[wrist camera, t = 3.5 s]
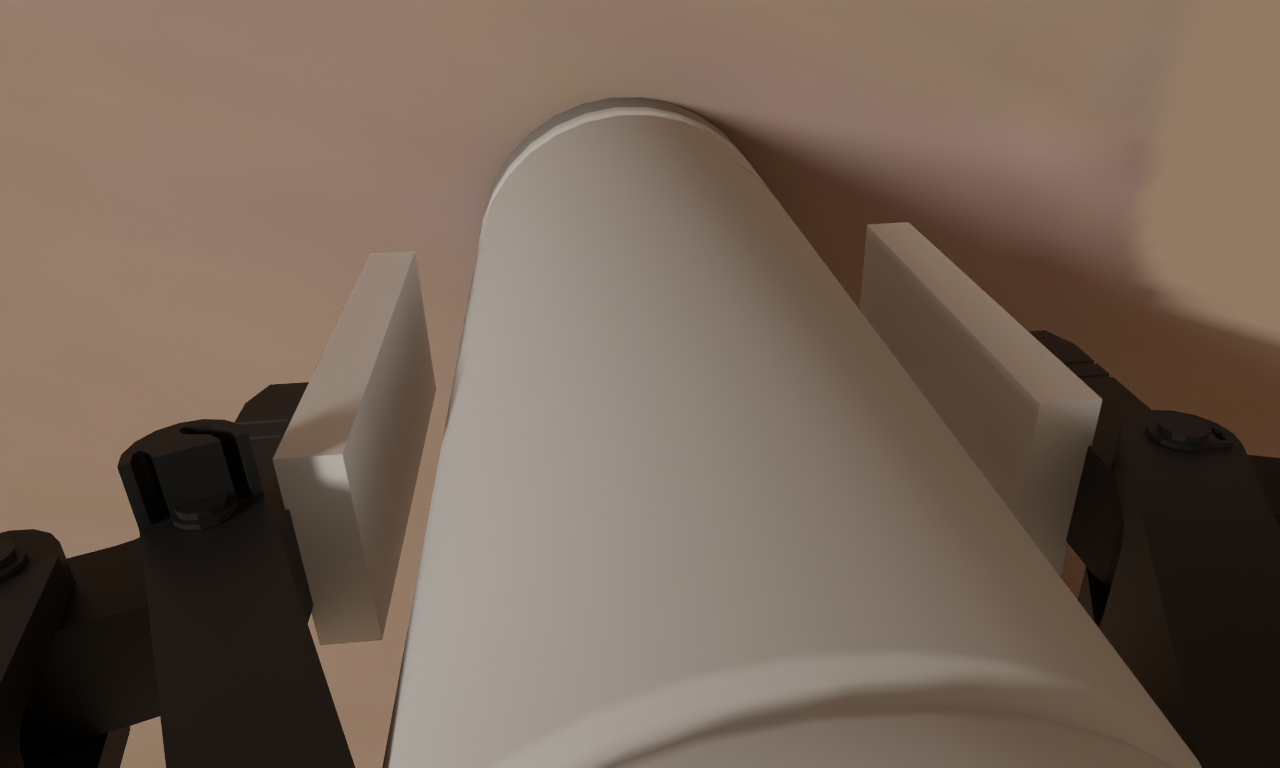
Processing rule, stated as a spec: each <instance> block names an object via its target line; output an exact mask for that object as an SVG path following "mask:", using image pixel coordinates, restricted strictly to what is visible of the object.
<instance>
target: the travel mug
mask: <svg viewBox="0 0 1280 768" xmlns="http://www.w3.org/2000/svg"><path fill="white" fill-rule="evenodd" d="M383 768H1202V767H1201V765H1200V763H1199V761H1198V760H1197V758H1196V757H1195V756H1194V754H1193V753H1192V752H1191V750H1190V749H1189V748H1188V746H1187V745H1186V744H1185V742H1184V741H1183V740H1182V738H1181V737H1180V736H1179V734H1178V733H1177V732H1176V730H1175V729H1174V728H1173V726H1172V725H1171V724H1170V722H1169V721H1168V720H1167V718H1166V717H1165V716H1164V714H1163V713H1162V712H1161V710H1160V709H1159V708H1158V706H1157V705H1156V704H1155V702H1154V701H1153V700H1152V698H1151V697H1150V696H1149V694H1148V693H1147V692H1146V690H1145V689H1144V688H1143V686H1142V685H1141V684H1140V683H1139V681H1138V680H1137V679H1136V677H1135V676H1134V675H1133V673H1132V672H1131V671H1130V669H1129V668H1128V667H1127V665H1126V664H1125V663H1124V661H1123V660H1122V659H1121V657H1120V656H1119V655H1118V653H1117V652H1116V651H1115V649H1114V648H1113V647H1112V645H1111V644H1110V643H1109V641H1108V640H1107V639H1106V637H1105V636H1104V635H1103V633H1102V632H1101V631H1100V629H1099V628H1098V627H1097V625H1096V624H1095V623H1094V621H1093V620H1092V619H1091V617H1090V616H1089V615H1088V613H1087V612H1086V611H1085V609H1084V608H1083V607H1082V605H1081V604H1080V603H1079V601H1078V600H1077V599H1076V597H1075V596H1074V595H1073V593H1072V592H1071V591H1070V589H1069V588H1068V587H1067V585H1066V584H1065V583H1064V581H1063V580H1062V579H1061V577H1060V576H1059V575H1058V573H1057V572H1056V571H1055V569H1054V568H1053V567H1052V565H1051V564H1050V563H1049V561H1048V560H1047V559H1046V557H1045V556H1044V555H1043V553H1042V552H1041V551H1040V549H1039V548H1038V547H1037V545H1036V544H1035V543H1034V541H1033V540H1032V539H1031V537H1030V536H1029V535H1028V533H1027V532H1026V531H1025V529H1024V528H1023V527H1022V525H1021V524H1020V523H1019V521H1018V520H1017V519H1016V517H1015V516H1014V515H1013V513H1012V512H1011V511H1010V509H1009V508H1008V507H1007V505H1006V504H1005V503H1004V501H1003V500H1002V499H1001V497H1000V496H999V495H998V493H997V492H996V491H995V489H994V488H993V487H992V485H991V484H990V483H989V481H988V480H987V479H986V477H985V476H984V475H983V473H982V472H981V471H980V469H979V468H978V467H977V465H976V464H975V463H974V461H973V460H972V459H971V457H970V456H969V455H968V453H967V452H966V451H965V449H964V448H963V447H962V445H961V444H960V443H959V441H958V440H957V439H956V437H955V436H954V435H953V433H952V432H951V431H950V429H949V428H948V427H947V425H946V424H945V423H944V421H943V420H942V419H941V417H940V416H939V415H938V413H937V412H936V411H935V409H934V408H933V407H932V405H931V404H930V403H929V401H928V400H927V399H926V397H925V396H924V395H923V393H922V392H921V391H920V389H919V388H918V387H917V385H916V384H915V383H914V381H913V380H912V379H911V377H910V376H909V375H908V373H907V372H906V371H905V369H904V368H903V367H902V366H901V364H900V363H899V362H898V360H897V359H896V358H895V356H894V355H893V354H892V352H891V351H890V350H889V348H888V347H887V346H886V344H885V343H884V342H883V340H882V339H881V338H880V336H879V335H878V334H877V332H876V331H875V330H874V328H873V327H872V326H871V324H870V323H869V322H868V320H867V319H866V318H865V316H864V315H863V314H862V312H861V311H860V310H859V308H858V307H857V306H856V304H855V303H854V302H853V300H852V299H851V298H850V296H849V295H848V294H847V292H846V291H845V290H844V288H843V287H842V286H841V284H840V283H839V282H838V280H837V279H836V278H835V276H834V275H833V274H832V272H831V271H830V270H829V268H828V267H827V266H826V264H825V263H824V262H823V260H822V259H821V258H820V256H819V255H818V254H817V252H816V251H815V250H814V248H813V247H812V246H811V244H810V243H809V242H808V240H807V239H806V238H805V236H804V235H803V234H802V232H801V231H800V230H799V228H798V227H797V226H796V224H795V223H794V222H793V220H792V219H791V218H790V216H789V215H788V214H787V212H786V211H785V210H784V208H783V207H782V206H781V204H780V203H779V202H778V200H777V199H776V198H775V196H774V195H773V194H772V192H771V191H770V190H769V188H768V187H767V186H766V184H765V183H764V182H763V180H762V179H761V178H760V176H759V175H758V174H757V173H756V172H755V170H754V169H753V167H752V166H751V164H750V163H749V162H748V160H747V159H746V158H745V156H744V155H743V154H742V152H741V151H740V150H739V149H738V148H737V147H736V146H735V145H734V144H733V143H732V142H731V141H730V139H729V138H728V137H727V136H726V135H725V134H724V133H723V132H722V131H721V130H719V129H718V128H716V127H715V126H714V125H712V124H711V123H709V122H708V121H706V120H705V119H704V118H702V117H701V116H699V115H697V114H695V113H693V112H690V111H688V110H686V109H683V108H681V107H679V106H676V105H674V104H671V103H667V102H662V101H657V100H652V99H647V98H609V99H604V100H600V101H595V102H590V103H585V104H582V105H579V106H577V107H575V108H572V109H570V110H568V111H565V112H563V113H561V114H558V115H556V116H554V117H553V118H552V119H550V120H549V121H547V122H546V123H544V124H543V125H541V126H540V127H539V128H537V129H536V130H534V131H533V132H531V133H530V134H529V135H528V136H527V138H526V139H525V140H524V141H523V142H522V143H521V144H520V145H519V146H518V147H517V148H516V149H515V150H514V151H513V152H512V153H511V154H510V156H509V158H508V159H507V161H506V162H505V164H504V166H503V167H502V169H501V171H500V172H499V174H498V175H497V177H496V179H495V181H494V184H493V187H492V190H491V192H490V195H489V198H488V201H487V203H486V207H485V212H484V218H483V224H482V230H481V234H480V240H479V245H478V251H477V256H476V261H475V267H474V272H473V278H472V283H471V289H470V294H469V300H468V305H467V310H466V316H465V321H464V327H463V332H462V338H461V343H460V349H459V354H458V359H457V365H456V370H455V376H454V381H453V387H452V392H451V398H450V403H449V408H448V414H447V419H446V425H445V430H444V436H443V441H442V446H441V452H440V457H439V463H438V468H437V474H436V479H435V485H434V490H433V495H432V501H431V506H430V512H429V517H428V523H427V528H426V534H425V539H424V544H423V550H422V555H421V561H420V566H419V572H418V577H417V583H416V588H415V593H414V599H413V604H412V610H411V615H410V621H409V626H408V632H407V637H406V642H405V648H404V653H403V659H402V664H401V670H400V675H399V681H398V686H397V691H396V697H395V702H394V708H393V713H392V719H391V724H390V730H389V735H388V740H387V746H386V751H385V757H384V762H383Z"/></svg>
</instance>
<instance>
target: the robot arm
mask: <svg viewBox="0 0 1280 768" xmlns="http://www.w3.org/2000/svg"><path fill="white" fill-rule="evenodd" d="M859 310H860V311H861V312H862V314H863V315H864V316H865V318H866V319H867V320H868V322H869V323H870V324H871V326H872V327H873V328H874V330H875V331H876V332H877V334H878V335H879V336H880V338H881V339H882V340H883V342H884V343H885V344H886V346H887V347H888V348H889V350H890V351H891V352H892V354H893V355H894V356H895V358H896V359H897V360H898V362H899V363H900V364H901V366H902V367H903V368H904V369H905V371H906V372H907V373H908V375H909V376H910V377H911V379H912V380H913V381H914V383H915V384H916V385H917V387H918V388H919V389H920V391H921V392H922V393H923V395H924V396H925V397H926V399H927V400H928V401H929V403H930V404H931V405H932V407H933V408H934V409H935V411H936V412H937V413H938V415H939V416H940V417H941V419H942V420H943V421H944V423H945V424H946V425H947V427H948V428H949V429H950V431H951V432H952V433H953V435H954V436H955V437H956V439H957V440H958V441H959V443H960V444H961V445H962V447H963V448H964V449H965V451H966V452H967V453H968V455H969V456H970V457H971V459H972V460H973V461H974V463H975V464H976V465H977V467H978V468H979V469H980V471H981V472H982V473H983V475H984V476H985V477H986V479H987V480H988V481H989V483H990V484H991V485H992V487H993V488H994V489H995V491H996V492H997V493H998V495H999V496H1000V497H1001V499H1002V500H1003V501H1004V503H1005V504H1006V505H1007V507H1008V508H1009V509H1010V511H1011V512H1012V513H1013V515H1014V516H1015V517H1016V519H1017V520H1018V521H1019V523H1020V524H1021V525H1022V527H1023V528H1024V529H1025V531H1026V532H1027V533H1028V535H1029V536H1030V537H1031V539H1032V540H1033V541H1034V543H1035V544H1036V545H1037V547H1038V548H1039V549H1040V551H1041V552H1042V553H1043V555H1044V556H1045V557H1046V559H1047V560H1048V561H1049V563H1050V564H1051V565H1052V567H1053V568H1054V569H1055V571H1056V572H1057V573H1058V575H1059V576H1060V577H1061V573H1062V569H1063V565H1064V560H1065V556H1066V552H1067V548H1068V544H1069V545H1070V546H1071V547H1072V549H1073V550H1074V551H1075V552H1076V554H1077V555H1078V556H1079V557H1080V559H1081V560H1082V561H1083V562H1084V564H1085V565H1086V569H1085V573H1084V577H1083V581H1082V585H1081V589H1080V593H1079V597H1078V601H1079V603H1080V604H1081V605H1082V607H1083V608H1084V609H1085V611H1086V612H1087V613H1088V615H1089V616H1090V617H1091V619H1092V620H1093V621H1094V623H1095V624H1096V625H1097V627H1098V628H1099V629H1100V631H1101V632H1102V633H1103V635H1104V636H1105V637H1106V639H1107V640H1108V641H1109V643H1110V644H1111V645H1112V647H1113V648H1114V649H1115V651H1116V652H1117V653H1118V655H1119V656H1120V657H1121V659H1122V660H1123V661H1124V663H1125V664H1126V665H1127V667H1128V668H1129V669H1130V671H1131V672H1132V673H1133V675H1134V676H1135V677H1136V679H1137V680H1138V681H1139V683H1140V684H1141V685H1142V686H1143V688H1144V689H1145V690H1146V692H1147V693H1148V694H1149V696H1150V697H1151V698H1152V700H1153V701H1154V702H1155V704H1156V705H1157V706H1158V708H1159V709H1160V710H1161V712H1162V713H1163V714H1164V716H1165V717H1166V718H1167V720H1168V721H1169V722H1170V724H1171V725H1172V726H1173V728H1174V729H1175V730H1176V732H1177V733H1178V734H1179V736H1180V737H1181V738H1182V740H1183V741H1184V742H1185V744H1186V745H1187V746H1188V748H1189V749H1190V750H1191V752H1192V753H1193V754H1194V756H1195V757H1196V758H1197V760H1198V761H1199V763H1200V765H1201V767H1202V768H1280V458H1272V457H1263V456H1253V455H1247V453H1246V451H1245V449H1244V447H1243V445H1242V443H1241V442H1240V441H1239V440H1238V439H1237V437H1236V436H1235V435H1234V434H1233V433H1232V432H1230V431H1228V430H1227V429H1225V428H1223V427H1222V426H1220V425H1219V424H1217V423H1215V422H1212V421H1209V420H1206V419H1204V418H1201V417H1198V416H1195V415H1191V414H1186V413H1181V412H1176V411H1166V410H1151V409H1150V408H1148V407H1147V406H1146V405H1145V404H1144V403H1143V402H1141V401H1140V400H1139V399H1138V398H1137V397H1136V396H1134V395H1133V394H1132V393H1131V392H1130V391H1129V390H1127V389H1126V388H1125V387H1124V386H1123V385H1122V384H1120V383H1119V382H1118V381H1117V380H1116V379H1115V378H1113V377H1111V378H1110V377H1109V373H1108V372H1106V371H1105V370H1104V369H1103V368H1102V367H1101V366H1099V365H1098V364H1094V360H1092V359H1091V358H1090V357H1089V356H1088V355H1087V354H1085V353H1084V352H1083V351H1082V350H1081V349H1080V348H1078V347H1077V346H1076V345H1075V344H1073V343H1071V342H1069V341H1067V340H1064V339H1062V338H1060V337H1058V336H1056V335H1053V334H1051V333H1049V332H1047V331H1030V332H1028V331H1027V330H1026V329H1025V328H1024V327H1023V326H1022V325H1021V324H1019V323H1018V322H1017V321H1016V320H1015V319H1014V318H1013V317H1012V316H1011V315H1010V314H1009V313H1007V312H1006V311H1005V310H1004V309H1003V308H1002V307H1001V306H1000V305H999V304H998V303H996V302H995V301H994V300H993V299H992V298H991V297H990V296H989V295H988V294H987V293H986V292H984V291H983V290H982V289H981V288H980V287H979V286H978V285H977V284H976V283H975V282H973V281H972V280H971V279H970V278H969V277H968V276H967V275H966V274H965V273H964V272H963V271H961V270H960V269H959V268H958V267H957V266H956V265H955V264H954V263H953V262H952V261H950V260H949V259H948V258H947V257H946V256H945V255H944V254H943V253H942V252H941V251H940V250H938V249H937V248H936V247H935V246H934V245H933V244H932V243H931V242H930V241H929V240H927V239H926V238H925V237H924V236H923V235H922V234H921V233H920V232H919V231H918V230H917V229H915V228H914V227H913V226H912V225H911V224H910V223H909V222H902V223H885V224H868V225H867V230H866V241H865V252H864V263H863V274H862V285H861V296H860V307H859ZM435 392H436V387H435V380H434V373H433V367H432V360H431V354H430V347H429V340H428V334H427V327H426V320H425V314H424V307H423V301H422V294H421V287H420V281H419V274H418V268H417V261H416V254H415V251H404V252H386V253H370V255H369V257H368V260H367V262H366V264H365V266H364V268H363V270H362V272H361V274H360V276H359V279H358V281H357V283H356V285H355V287H354V289H353V291H352V293H351V295H350V297H349V300H348V302H347V304H346V306H345V308H344V310H343V312H342V314H341V316H340V318H339V321H338V323H337V325H336V327H335V329H334V331H333V333H332V335H331V337H330V339H329V342H328V344H327V346H326V348H325V350H324V352H323V354H322V356H321V358H320V360H319V363H318V365H317V367H316V369H315V371H314V373H313V375H312V377H311V379H310V381H309V382H305V383H290V384H275V385H269V386H268V387H267V388H265V389H264V390H263V391H261V392H260V393H259V394H257V395H256V396H255V397H253V398H252V399H251V400H249V401H248V402H247V403H246V404H245V405H244V407H243V409H242V410H241V412H240V414H239V416H238V417H237V419H236V421H235V423H233V422H230V421H227V420H212V419H202V420H196V421H190V422H184V423H178V424H175V425H172V426H169V427H166V428H163V429H160V430H157V431H154V432H153V433H151V434H149V435H147V436H145V437H143V438H142V439H140V440H138V441H136V442H134V443H133V444H132V445H131V446H130V447H129V448H128V449H127V450H126V451H125V452H124V453H123V454H122V455H121V458H120V460H119V463H118V466H117V468H118V470H119V473H120V476H121V479H122V482H123V485H124V487H125V490H126V493H127V496H128V499H129V502H130V505H131V507H132V510H133V513H134V516H135V519H136V522H137V524H138V527H139V531H140V538H138V539H135V540H133V541H129V542H126V543H123V544H120V545H117V546H114V547H110V548H106V549H102V550H98V551H95V552H91V553H87V554H83V555H79V556H75V557H71V558H68V559H66V557H65V554H64V552H63V549H62V547H61V544H60V542H59V541H58V540H57V539H56V538H55V537H54V536H53V535H52V534H51V533H47V532H43V531H39V530H34V529H30V530H13V531H7V532H3V533H0V768H120V765H121V761H122V757H123V754H124V750H125V747H126V743H127V739H128V736H129V732H130V726H131V725H134V724H137V723H140V722H143V721H146V720H149V719H152V718H155V717H158V716H161V725H162V734H163V743H164V752H165V761H166V768H355V765H354V762H353V759H352V756H351V753H350V750H349V747H348V744H347V741H346V738H345V735H344V732H343V729H342V726H341V723H340V720H339V717H338V714H337V711H336V708H335V705H334V702H333V699H332V696H331V693H330V690H329V687H328V684H327V681H326V678H325V675H324V672H323V669H322V666H321V663H320V660H319V657H318V654H317V651H316V648H315V645H314V642H313V639H312V636H311V633H310V630H309V627H308V621H309V618H310V615H311V612H312V616H313V620H314V624H315V627H316V631H317V635H318V639H319V643H320V645H326V644H338V643H350V642H361V641H373V640H382V638H383V633H384V628H385V624H386V619H387V614H388V610H389V605H390V601H391V596H392V591H393V587H394V582H395V577H396V573H397V568H398V563H399V559H400V554H401V549H402V545H403V540H404V536H405V531H406V526H407V522H408V517H409V512H410V508H411V503H412V498H413V494H414V489H415V485H416V480H417V475H418V471H419V466H420V461H421V457H422V452H423V447H424V443H425V438H426V433H427V429H428V424H429V420H430V415H431V410H432V406H433V401H434V396H435Z"/></svg>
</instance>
